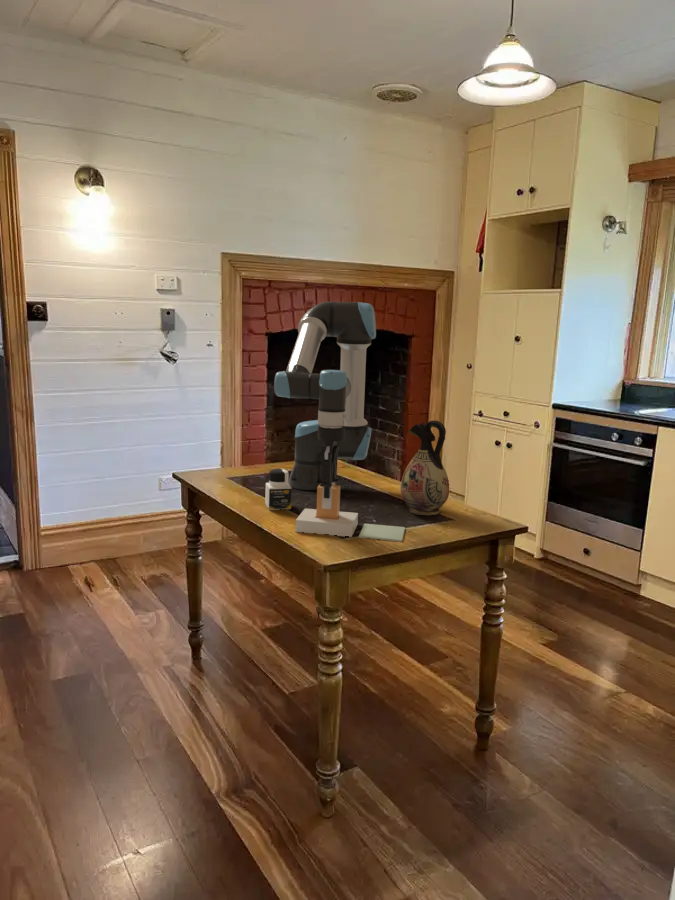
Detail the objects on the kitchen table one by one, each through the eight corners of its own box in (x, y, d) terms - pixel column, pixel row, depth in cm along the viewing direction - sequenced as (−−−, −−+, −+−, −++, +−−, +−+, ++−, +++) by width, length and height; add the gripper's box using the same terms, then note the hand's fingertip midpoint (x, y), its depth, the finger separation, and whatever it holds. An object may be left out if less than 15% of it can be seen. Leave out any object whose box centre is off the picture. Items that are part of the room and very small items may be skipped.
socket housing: (304, 519, 204) (304, 508, 204) (357, 524, 202) (358, 513, 201) (295, 531, 193) (295, 519, 192) (351, 537, 190) (352, 525, 189)
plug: (318, 520, 200) (319, 483, 197) (338, 522, 199) (340, 485, 196) (315, 524, 196) (317, 487, 193) (336, 526, 195) (338, 489, 193)
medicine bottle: (268, 510, 212) (269, 472, 210) (265, 504, 219) (265, 467, 217) (291, 509, 214) (292, 472, 212) (286, 503, 221) (287, 467, 219)
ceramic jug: (389, 511, 217) (394, 417, 211) (416, 502, 228) (422, 413, 222) (434, 523, 206) (441, 425, 200) (461, 513, 218) (468, 420, 212)
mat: (364, 525, 201) (364, 523, 201) (405, 528, 200) (405, 527, 199) (358, 537, 190) (358, 536, 190) (401, 541, 188) (402, 540, 188)
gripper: (339, 431, 183) (336, 515, 187) (349, 422, 199) (345, 499, 204) (312, 429, 184) (309, 513, 188) (323, 420, 200) (321, 497, 205)
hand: (328, 506), depth 196 cm, fingers closed on plug, 4 cm apart
